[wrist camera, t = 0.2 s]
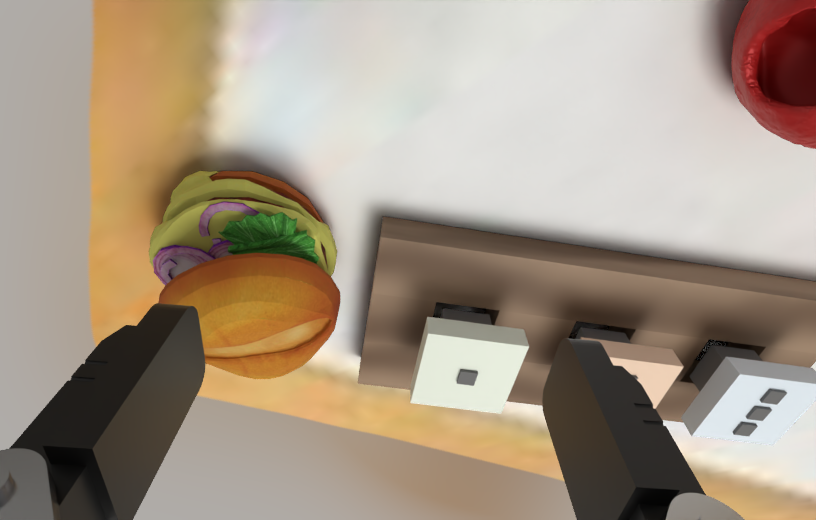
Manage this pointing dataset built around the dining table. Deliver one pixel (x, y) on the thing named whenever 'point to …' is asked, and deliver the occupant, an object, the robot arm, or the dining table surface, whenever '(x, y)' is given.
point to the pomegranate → (778, 67)
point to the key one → (467, 362)
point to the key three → (747, 396)
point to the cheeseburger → (248, 270)
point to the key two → (639, 361)
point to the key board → (574, 303)
